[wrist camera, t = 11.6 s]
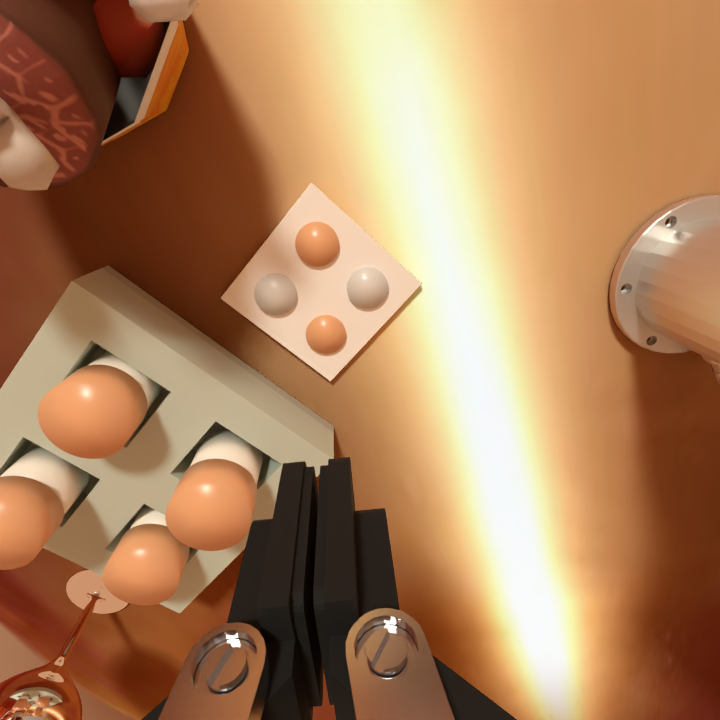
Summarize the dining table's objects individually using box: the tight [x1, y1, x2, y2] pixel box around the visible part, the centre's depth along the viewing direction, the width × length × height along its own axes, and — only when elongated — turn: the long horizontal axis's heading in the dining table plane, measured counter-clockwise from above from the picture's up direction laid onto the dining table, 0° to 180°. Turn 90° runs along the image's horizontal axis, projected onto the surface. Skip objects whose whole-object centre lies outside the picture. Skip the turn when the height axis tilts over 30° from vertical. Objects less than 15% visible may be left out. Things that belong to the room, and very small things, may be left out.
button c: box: [102, 504, 190, 605], centre depth 37 cm, size 6×6×7 cm
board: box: [0, 265, 334, 613], centre depth 37 cm, size 22×22×5 cm
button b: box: [38, 350, 163, 459], centre depth 32 cm, size 6×6×7 cm
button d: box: [0, 446, 89, 570], centre depth 32 cm, size 6×6×7 cm
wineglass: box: [0, 569, 128, 720], centre depth 37 cm, size 8×8×18 cm
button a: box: [165, 431, 262, 551], centre depth 33 cm, size 6×6×7 cm
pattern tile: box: [220, 182, 422, 381], centre depth 34 cm, size 11×11×1 cm
